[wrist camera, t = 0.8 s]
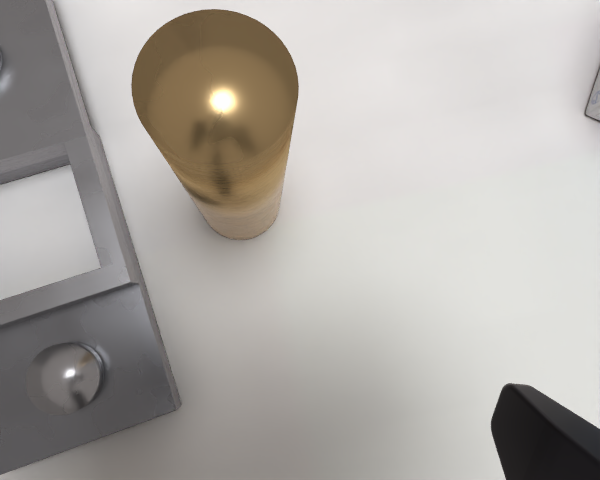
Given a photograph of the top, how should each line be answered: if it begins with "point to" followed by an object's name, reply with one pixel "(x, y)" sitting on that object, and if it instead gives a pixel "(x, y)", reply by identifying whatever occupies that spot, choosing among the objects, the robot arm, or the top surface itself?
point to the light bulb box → (595, 101)
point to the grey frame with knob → (76, 290)
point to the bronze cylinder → (220, 114)
